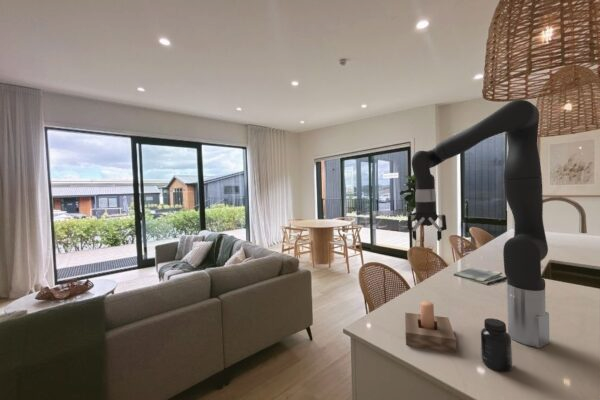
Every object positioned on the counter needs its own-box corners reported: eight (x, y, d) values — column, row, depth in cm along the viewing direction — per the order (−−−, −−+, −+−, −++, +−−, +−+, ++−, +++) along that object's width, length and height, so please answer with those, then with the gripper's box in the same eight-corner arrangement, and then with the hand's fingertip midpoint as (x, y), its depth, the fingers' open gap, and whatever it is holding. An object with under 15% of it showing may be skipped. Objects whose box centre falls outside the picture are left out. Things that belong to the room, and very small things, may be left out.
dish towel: (452, 276, 145) (452, 270, 145) (472, 270, 153) (472, 265, 153) (488, 286, 128) (488, 280, 128) (509, 279, 136) (509, 273, 136)
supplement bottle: (498, 355, 77) (497, 315, 76) (518, 372, 70) (518, 327, 70) (475, 357, 77) (474, 317, 76) (493, 373, 70) (492, 329, 69)
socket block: (448, 328, 92) (448, 317, 92) (456, 352, 79) (455, 339, 79) (405, 323, 98) (405, 312, 97) (406, 344, 84) (405, 332, 84)
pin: (437, 334, 88) (436, 304, 87) (428, 337, 86) (427, 307, 85) (427, 328, 91) (425, 300, 91) (418, 332, 89) (417, 303, 89)
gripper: (406, 201, 106) (408, 241, 107) (446, 200, 101) (448, 242, 102) (406, 200, 113) (407, 238, 114) (444, 199, 108) (445, 238, 109)
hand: (426, 240), depth 108 cm, fingers open, 8 cm apart
